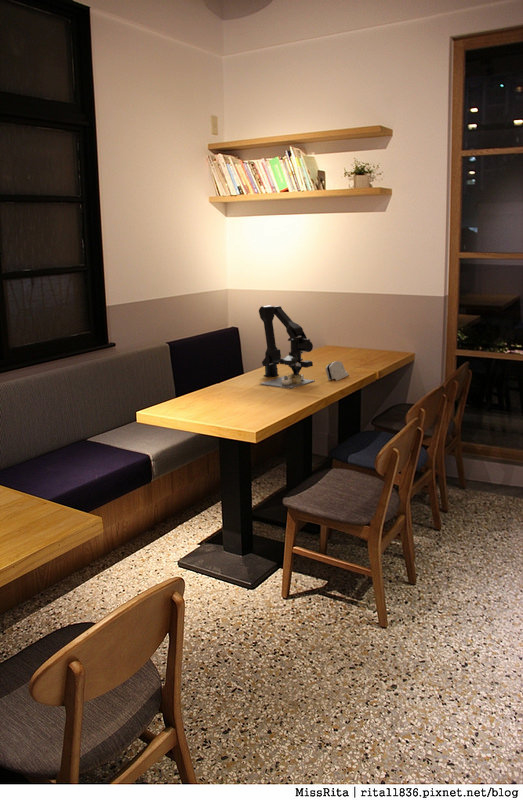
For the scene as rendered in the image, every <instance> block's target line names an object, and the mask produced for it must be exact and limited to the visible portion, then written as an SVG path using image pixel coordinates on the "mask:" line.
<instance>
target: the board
mask: <svg viewBox="0 0 523 800" xmlns="http://www.w3.org/2000/svg"><path fill="white" fill-rule="evenodd" d="M284 376H285V375H283V376H281V377H277V378H274V379H273V378H272V379H271V380H267V381H263V382H260V383H259V385H260V386H267V387H276V388H281V389H288V388H289V389H288V390H293V389H296V388H298V386H299V387H301V386H304V385H307V384H310V383H313V382H314V383H315V380H314V379H306V378H304V379H303V380H301V383H300V384H292V383H291V384H289V385H282V379H284ZM295 387H296V388H295Z"/></svg>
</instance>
